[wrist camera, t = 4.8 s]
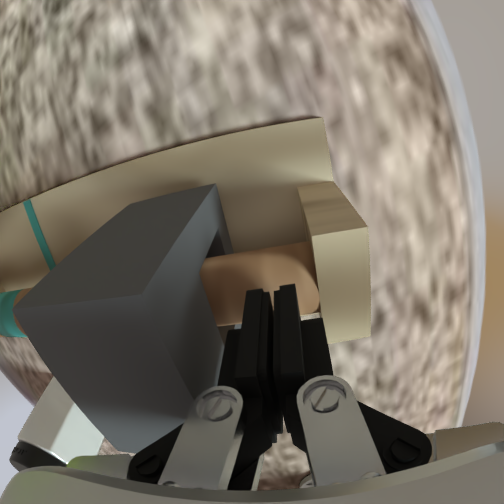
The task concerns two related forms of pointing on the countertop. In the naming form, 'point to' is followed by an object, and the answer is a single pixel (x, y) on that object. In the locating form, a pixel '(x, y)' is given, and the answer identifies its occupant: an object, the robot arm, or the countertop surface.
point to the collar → (135, 316)
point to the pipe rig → (237, 219)
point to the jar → (55, 432)
